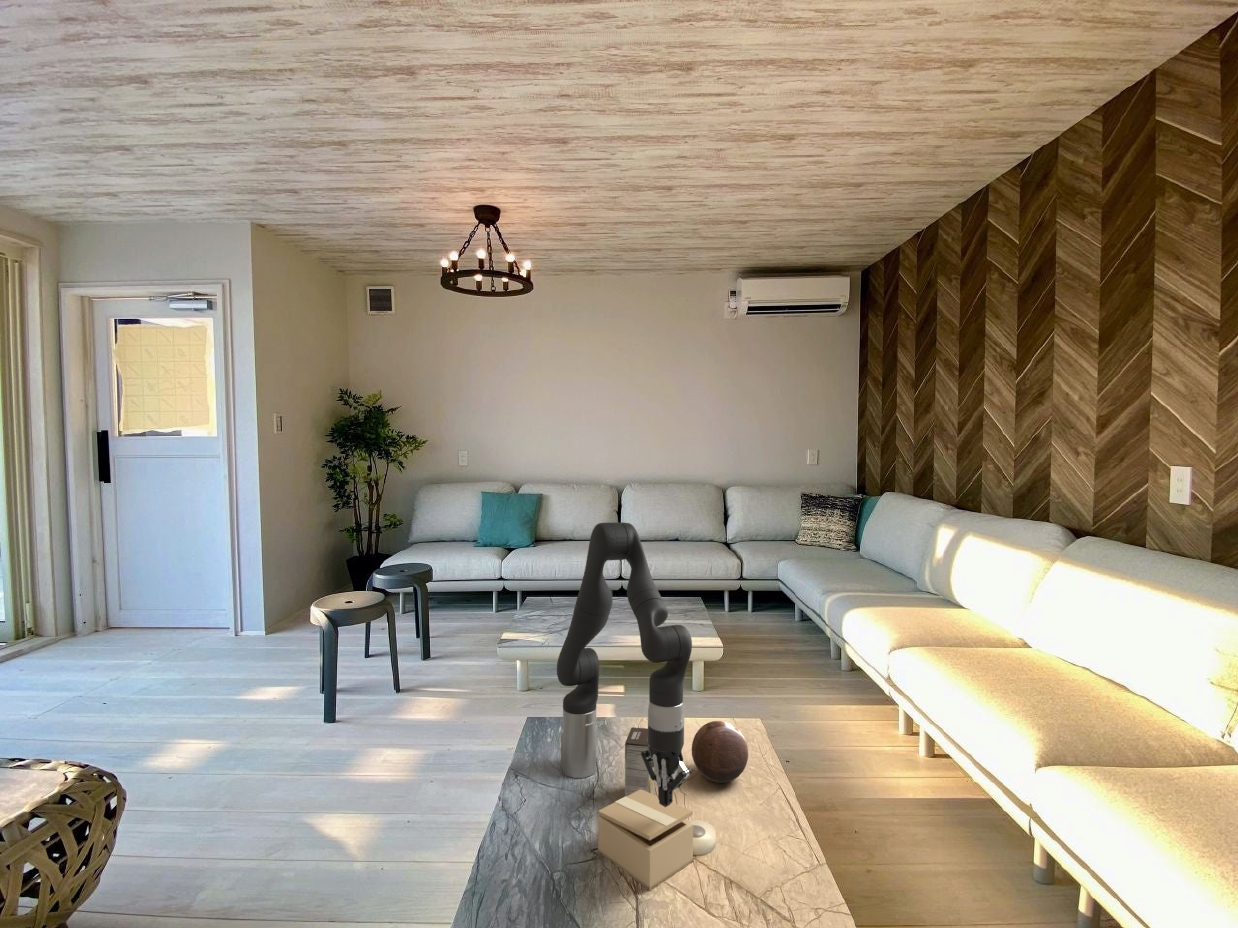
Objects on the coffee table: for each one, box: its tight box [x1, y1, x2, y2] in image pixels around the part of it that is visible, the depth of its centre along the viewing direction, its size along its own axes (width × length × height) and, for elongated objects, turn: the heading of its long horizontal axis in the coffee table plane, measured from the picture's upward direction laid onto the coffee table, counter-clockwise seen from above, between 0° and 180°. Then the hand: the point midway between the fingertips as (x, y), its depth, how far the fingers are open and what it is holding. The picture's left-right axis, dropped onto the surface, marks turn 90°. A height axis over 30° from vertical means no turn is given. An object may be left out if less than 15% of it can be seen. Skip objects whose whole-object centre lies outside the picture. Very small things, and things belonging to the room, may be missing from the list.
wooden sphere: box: [691, 720, 749, 784], centre depth 164 cm, size 15×15×15 cm
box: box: [597, 814, 694, 891], centre depth 132 cm, size 16×13×8 cm
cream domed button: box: [685, 819, 717, 856], centre depth 137 cm, size 9×9×2 cm
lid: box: [597, 789, 694, 840], centre depth 132 cm, size 16×13×1 cm
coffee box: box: [624, 727, 656, 797], centre depth 154 cm, size 9×6×16 cm
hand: (665, 804), depth 127 cm, fingers closed
